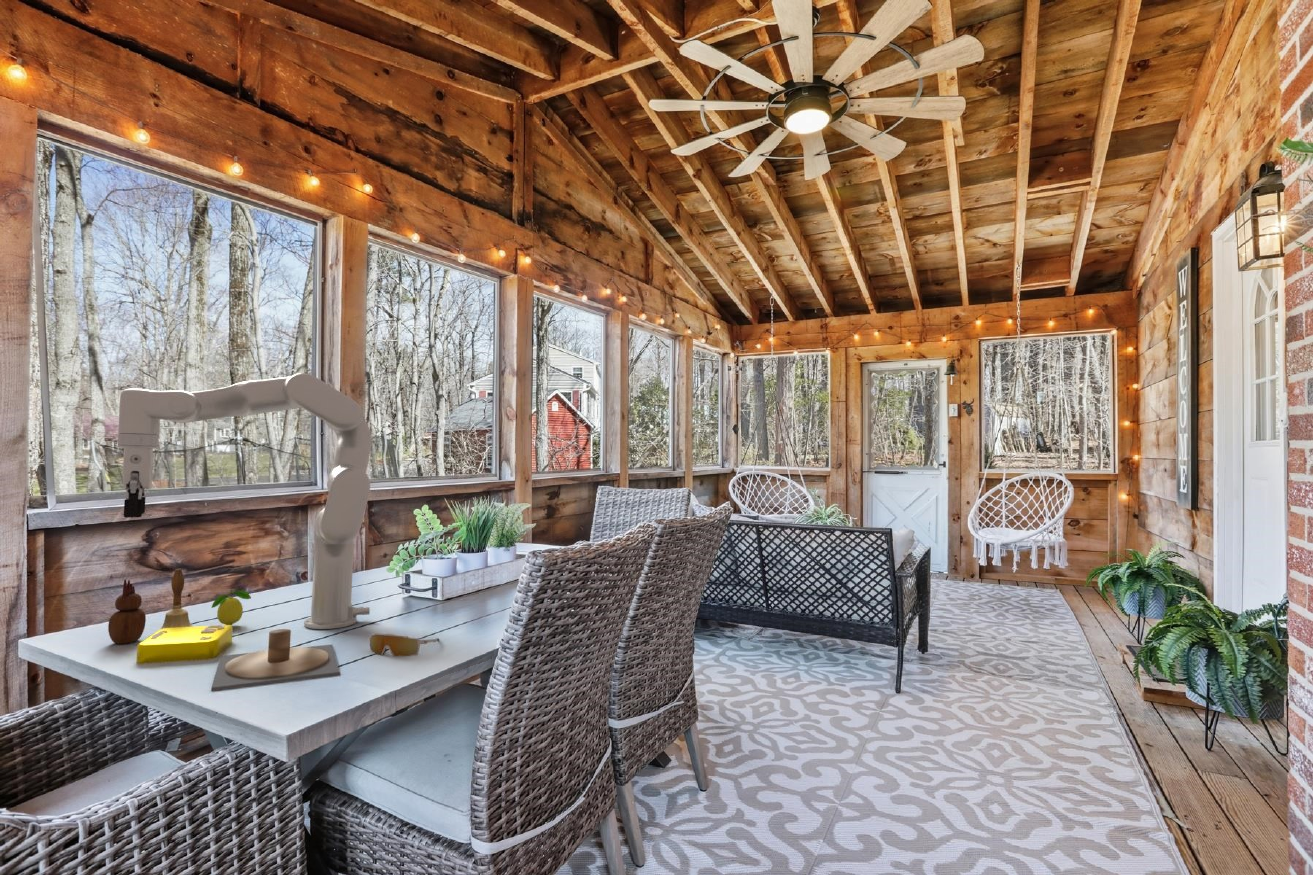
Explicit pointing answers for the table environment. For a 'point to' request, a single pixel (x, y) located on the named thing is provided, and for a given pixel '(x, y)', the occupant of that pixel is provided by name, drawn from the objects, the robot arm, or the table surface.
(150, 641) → the element tile
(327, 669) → the mat
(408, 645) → the sunglasses
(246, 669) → the lid
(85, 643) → the table surface
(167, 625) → the hand bell
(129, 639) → the wooden figurine
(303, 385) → the robot arm
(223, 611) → the lemon
